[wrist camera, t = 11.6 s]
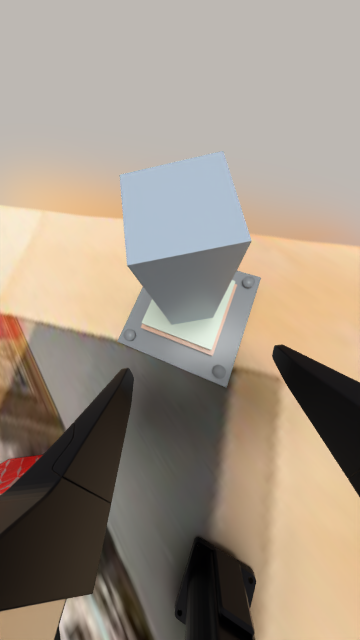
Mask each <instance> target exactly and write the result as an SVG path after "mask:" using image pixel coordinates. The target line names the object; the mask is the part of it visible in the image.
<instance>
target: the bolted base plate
mask: <svg viewBox="0 0 360 640" xmlns="http://www.w3.org/2000/svg"><path fill="white" fill-rule="evenodd" d="M260 279H261V278H260V277H257V276H253V275H250V274H247V273H243V272H240V271H236V273H235V275H234V277H233V279H232V281H231V283H230V285H229V287H228V289H227V291H226V293H225V295H224V297H223V299H222V301H221V303H220V305H219V307H218V309H217V311H216V313H215V315H214V317H213V318H208V319H202V320H196V321H190V322H185V323H179V324H173V325H172V324H171V323H170V322H169V320H168V319H167V318H166V316H165V315H164V314H163V312H162V311H161V310H160V308H159V307H158V306H157V304H156V303H155V302H154V300H153V299H152V298H151V296H150V295H149V294H148V292H147V291H146V290H145V288H144V287H143V288H142V290H141V292H140V294H139V296H138V298H137V300H136V303H135V305H134V307H133V309H132V311H131V313H130V315H129V318H128V320H127V322H126V324H125V326H124V328H123V330H122V333H121V335H120V337H119V339H118V341H117V342H120V343H122V344H124V345H127V346H129V347H132V348H134V349H136V350H139V351H141V352H143V353H146V354H148V355H151V356H153V357H155V358H158V359H160V360H162V361H165V362H167V363H169V364H172V365H174V366H177V367H179V368H181V369H184V370H186V371H188V372H191V373H193V374H195V375H198V376H200V377H203V378H205V379H207V380H210V381H212V382H214V383H217V384H219V385H221V386H224V387H227V384H228V381H229V378H230V374H231V371H232V368H233V365H234V362H235V358H236V355H237V352H238V349H239V346H240V343H241V339H242V336H243V333H244V330H245V327H246V324H247V320H248V317H249V314H250V311H251V308H252V305H253V301H254V298H255V295H256V292H257V289H258V286H259V282H260Z"/></svg>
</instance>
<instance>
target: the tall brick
mask: <svg viewBox="0 0 360 640" xmlns="http://www.w3.org/2000/svg"><path fill="white" fill-rule="evenodd" d="M120 185H121V197H122V209H123V221H124V233H125V245H126V257H127V266H128V267H129V268H130V270H131V271H132V272H133V274H134V275H135V276H136V278H137V279H138V280H139V282H140V283H141V284H142V286H143V287H144V288H145V290H146V291H147V292H148V294H149V295H150V296H151V298H152V299H153V300H154V302H155V303H156V304H157V306H158V307H159V308H160V310H161V311H162V312H163V314H164V315H165V316H166V318H167V319H168V320H169V322H170V323H171V324H172V325H173V324H179V323H185V322H190V321H196V320H202V319H208V318H213V317H214V315H215V313H216V311H217V309H218V307H219V305H220V303H221V301H222V299H223V297H224V295H225V293H226V291H227V289H228V287H229V285H230V283H231V281H232V279H233V277H234V275H235V273H236V271H237V269H238V267H239V265H240V263H241V261H242V259H243V257H244V255H245V253H246V251H247V249H248V247H249V245H250V243H251V238H250V235H249V231H248V229H247V225H246V222H245V219H244V216H243V212H242V209H241V206H240V203H239V200H238V197H237V194H236V190H235V187H234V184H233V181H232V178H231V175H230V171H229V168H228V165H227V162H226V159H225V156H224V152H223V151H221V152H217V153H212V154H208V155H204V156H199V157H195V158H190V159H186V160H182V161H178V162H173V163H169V164H165V165H160V166H156V167H152V168H147V169H143V170H139V171H134V172H130V173H126V174H122V175H120Z"/></svg>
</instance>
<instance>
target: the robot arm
mask: <svg viewBox="0 0 360 640" xmlns="http://www.w3.org/2000/svg"><path fill="white" fill-rule="evenodd" d="M272 357H273V360H274V362H275V364H276V366H277V368H278V370H279V371H280V373H281V375H282V377H283V379H284V381H285V383H286V384H287V386H288V388H289V389H290V391H291V392H292V394H293V395H294V397H295V398H296V400H297V401H298V403H299V404H300V406H301V408H302V409H303V411H304V412H305V414H306V415H307V417H308V418H309V420H310V421H311V423H312V424H313V426H314V427H315V429H316V431H317V432H318V434H319V435H320V437H321V438H322V440H323V441H324V443H325V444H326V446H327V447H328V449H329V450H330V452H331V454H332V455H333V457H334V458H335V460H336V461H337V463H338V464H339V466H340V467H341V469H342V470H343V472H344V473H345V475H346V477H347V478H349V479H348V480H349V481H350V483H351V484H352V486H353V487H354V489H355V491H356V492H357V494H358V495H359V497H360V382H358V381H356V380H354V379H352V378H350V377H348V376H345V375H343V374H341V373H339V372H337V371H335V370H333V369H331V368H329V367H327V366H325V365H323V364H321V363H319V362H317V361H315V360H313V359H311V358H309V357H307V356H305V355H303V354H301V353H299V352H297V351H295V350H293V349H291V348H289V347H287V346H285V345H275V346H274V350H273V355H272ZM133 382H134V377H133V375H132V373H131V371H130V369H129V368H124V369H121V370H120V372H119V373H118V374H117V375H116V376H115V377H114V378H113V379H112V380H111V382H110V383H109V384H108V385H107V386H106V387H105V388H104V389H103V390H102V392H101V393H100V394H99V395H98V396H97V397H96V398H95V399H94V400H93V402H92V403H91V404H90V405H89V406H88V407H87V408H86V409H85V410H84V412H83V413H82V414H81V415H80V416H79V417H78V418H77V419H76V420H75V423H73V424H72V425H71V426H70V427H69V428H68V429H67V430H66V431H65V432H64V434H63V435H62V436H61V437H60V438H59V439H58V440H57V441H56V442H55V443H54V444H53V445H52V446H51V447H50V448H49V449H48V450H47V451H46V452H45V453H44V454H43V455H42V456H41V457H40V458H39V459H38V460H37V461H36V462H35V463H34V464H33V465H32V466H31V467H30V468H29V469H28V470H27V471H26V472H25V473H24V474H23V475H22V476H21V477H20V478H19V479H18V480H17V481H16V482H15V483H14V484H13V485H12V486H11V487H10V488H8V489H7V490H6V491H5V492H4V493H3V494H1V495H0V640H60V632H59V623H60V620H61V616H62V613H63V609H64V606H65V602H66V599H68V598H73V597H78V596H83V595H88V594H92V593H93V590H94V585H95V581H96V576H97V571H98V566H99V561H100V556H101V551H102V546H103V541H104V537H105V532H106V527H107V522H108V517H109V512H110V507H111V502H112V497H113V492H114V487H115V482H116V477H117V472H118V467H119V462H120V457H121V452H122V447H123V443H124V438H125V433H126V428H127V423H128V418H129V413H130V408H131V402H132V392H133ZM197 545H200V546H197ZM249 577H251V578H249ZM255 585H256V579H255V575H254V572H253V570H251V569H250V568H249V567H247V566H245V565H244V564H242V563H240V562H239V561H237V560H235V559H234V558H232V557H230V556H229V555H227V554H226V553H224V552H222V551H221V550H219V549H217V548H216V547H214V546H212V545H211V544H209V543H207V542H206V541H204V540H203V539H201V538H199V537H198V538H196V539H195V540H194V543H193V547H192V550H191V553H190V557H189V560H188V563H187V567H186V570H185V573H184V577H183V580H182V583H181V587H180V590H179V593H178V597H177V600H176V604H175V616H176V618H177V619H178V620H180V621H181V622H182V623H184V624H185V625H186V631H185V640H255V636H254V626H253V622H252V617H251V613H250V607H251V602H252V598H253V593H254V589H255ZM179 609H180V610H179Z"/></svg>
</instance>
